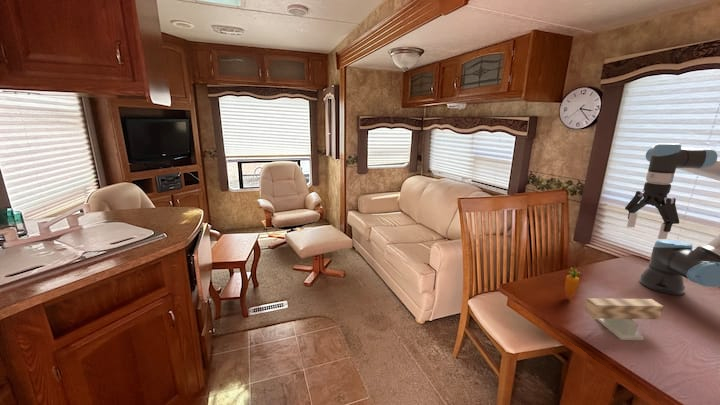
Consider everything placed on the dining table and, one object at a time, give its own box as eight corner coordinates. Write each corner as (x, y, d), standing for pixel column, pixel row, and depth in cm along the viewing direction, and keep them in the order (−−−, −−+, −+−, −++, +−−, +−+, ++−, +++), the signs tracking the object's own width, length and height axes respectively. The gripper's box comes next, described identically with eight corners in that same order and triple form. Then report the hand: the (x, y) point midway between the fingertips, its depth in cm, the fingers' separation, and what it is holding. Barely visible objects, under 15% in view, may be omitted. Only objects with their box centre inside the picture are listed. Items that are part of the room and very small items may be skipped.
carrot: (577, 303, 126) (584, 272, 122) (564, 302, 127) (571, 270, 123) (571, 296, 130) (578, 266, 126) (559, 295, 131) (565, 265, 127)
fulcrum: (615, 318, 116) (619, 305, 114) (643, 340, 104) (647, 325, 103) (595, 318, 116) (598, 305, 114) (621, 339, 104) (625, 325, 103)
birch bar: (648, 311, 110) (651, 299, 109) (659, 319, 106) (663, 306, 105) (584, 310, 111) (587, 298, 109) (593, 318, 106) (596, 305, 105)
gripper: (621, 177, 128) (611, 223, 133) (682, 189, 104) (667, 244, 109) (638, 177, 128) (627, 222, 133) (703, 189, 104) (687, 244, 109)
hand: (645, 232), depth 121 cm, fingers open, 13 cm apart
